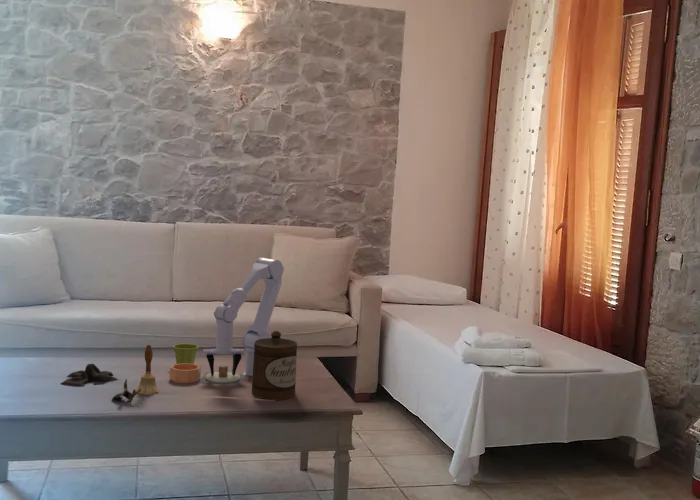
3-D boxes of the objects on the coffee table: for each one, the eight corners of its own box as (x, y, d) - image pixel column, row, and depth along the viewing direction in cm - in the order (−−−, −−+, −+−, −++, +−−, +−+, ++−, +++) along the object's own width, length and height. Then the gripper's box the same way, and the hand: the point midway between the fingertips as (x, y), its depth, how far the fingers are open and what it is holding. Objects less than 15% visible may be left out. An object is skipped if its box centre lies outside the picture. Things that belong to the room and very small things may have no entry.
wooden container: (272, 403, 246) (275, 337, 245) (242, 393, 256) (245, 330, 254) (303, 395, 258) (307, 332, 256) (274, 386, 267) (277, 325, 265)
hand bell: (162, 393, 250) (164, 347, 249) (137, 395, 247) (138, 348, 245) (157, 387, 258) (158, 341, 256) (132, 389, 254) (133, 342, 253)
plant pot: (170, 366, 287) (170, 344, 286) (194, 364, 291) (195, 343, 290) (175, 372, 279) (175, 349, 278) (200, 370, 283) (201, 348, 282)
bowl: (201, 377, 273) (202, 364, 273) (196, 385, 263) (196, 371, 263) (174, 376, 273) (175, 362, 273) (167, 383, 263) (168, 369, 263)
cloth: (59, 389, 251) (60, 371, 250) (60, 375, 268) (60, 358, 268) (128, 386, 259) (129, 369, 258) (125, 373, 276) (125, 356, 275)
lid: (242, 375, 277) (243, 363, 277) (237, 384, 265) (237, 371, 264) (209, 373, 277) (209, 361, 277) (202, 382, 265) (202, 369, 264)
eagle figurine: (146, 397, 242) (130, 386, 247) (138, 382, 238) (122, 371, 243) (127, 412, 238) (111, 401, 243) (119, 397, 233) (103, 386, 239)
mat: (246, 376, 278) (246, 374, 278) (240, 387, 263) (240, 385, 263) (206, 374, 278) (206, 372, 278) (197, 384, 264) (197, 383, 263)
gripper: (242, 335, 276) (241, 371, 277) (202, 335, 271) (201, 372, 272) (245, 339, 269) (244, 376, 270) (205, 339, 265) (203, 377, 266)
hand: (222, 374), depth 271 cm, fingers open, 7 cm apart
